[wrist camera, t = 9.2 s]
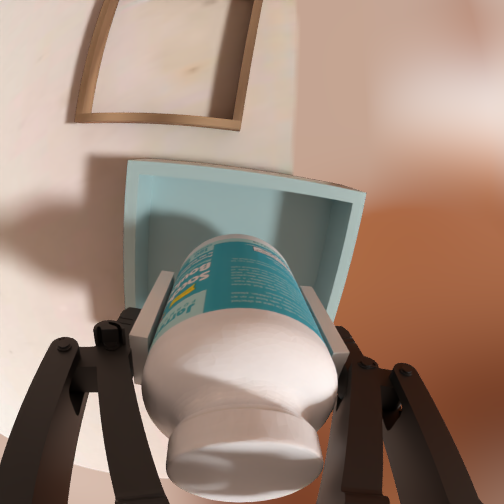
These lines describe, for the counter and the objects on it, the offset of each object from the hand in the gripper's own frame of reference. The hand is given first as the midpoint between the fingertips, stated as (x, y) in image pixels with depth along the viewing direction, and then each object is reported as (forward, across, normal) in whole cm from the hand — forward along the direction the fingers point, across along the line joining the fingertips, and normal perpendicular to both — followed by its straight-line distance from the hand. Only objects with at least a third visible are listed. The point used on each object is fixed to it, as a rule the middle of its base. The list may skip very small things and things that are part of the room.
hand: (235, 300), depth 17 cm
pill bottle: (+2, 0, 0) cm, 2 cm away
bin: (+6, 0, 0) cm, 6 cm away
